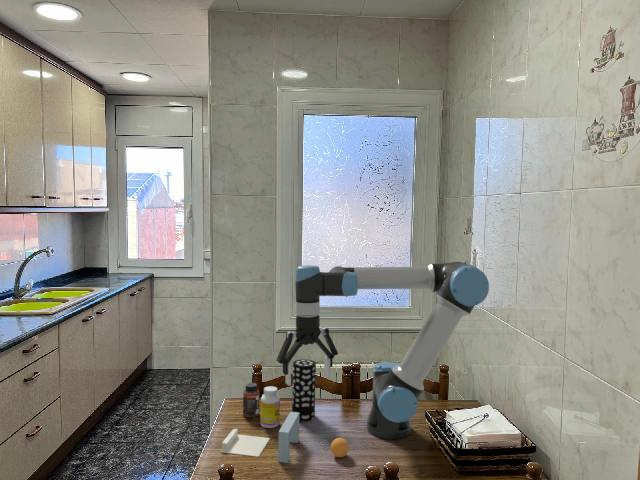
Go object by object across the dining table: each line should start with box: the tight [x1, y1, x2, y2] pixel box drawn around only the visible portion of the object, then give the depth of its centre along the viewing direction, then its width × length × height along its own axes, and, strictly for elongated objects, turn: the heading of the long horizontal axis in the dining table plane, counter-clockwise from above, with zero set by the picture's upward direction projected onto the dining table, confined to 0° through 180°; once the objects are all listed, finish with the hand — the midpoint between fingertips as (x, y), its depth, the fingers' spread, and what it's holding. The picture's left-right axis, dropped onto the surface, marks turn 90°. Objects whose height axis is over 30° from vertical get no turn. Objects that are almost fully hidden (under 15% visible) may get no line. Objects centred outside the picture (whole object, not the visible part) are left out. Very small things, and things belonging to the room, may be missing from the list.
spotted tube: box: [291, 358, 317, 422], centre depth 172 cm, size 8×8×20 cm
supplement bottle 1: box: [242, 382, 260, 419], centre depth 173 cm, size 6×6×11 cm
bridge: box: [277, 411, 300, 463], centre depth 148 cm, size 3×14×9 cm, turn 169°
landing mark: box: [220, 433, 271, 458], centre depth 151 cm, size 12×12×1 cm
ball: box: [330, 437, 350, 458], centre depth 145 cm, size 6×6×6 cm
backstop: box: [221, 428, 239, 451], centre depth 151 cm, size 2×10×2 cm, turn 170°
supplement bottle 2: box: [259, 385, 281, 429], centre depth 165 cm, size 7×7×13 cm
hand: (308, 380), depth 150 cm, fingers open, 13 cm apart
